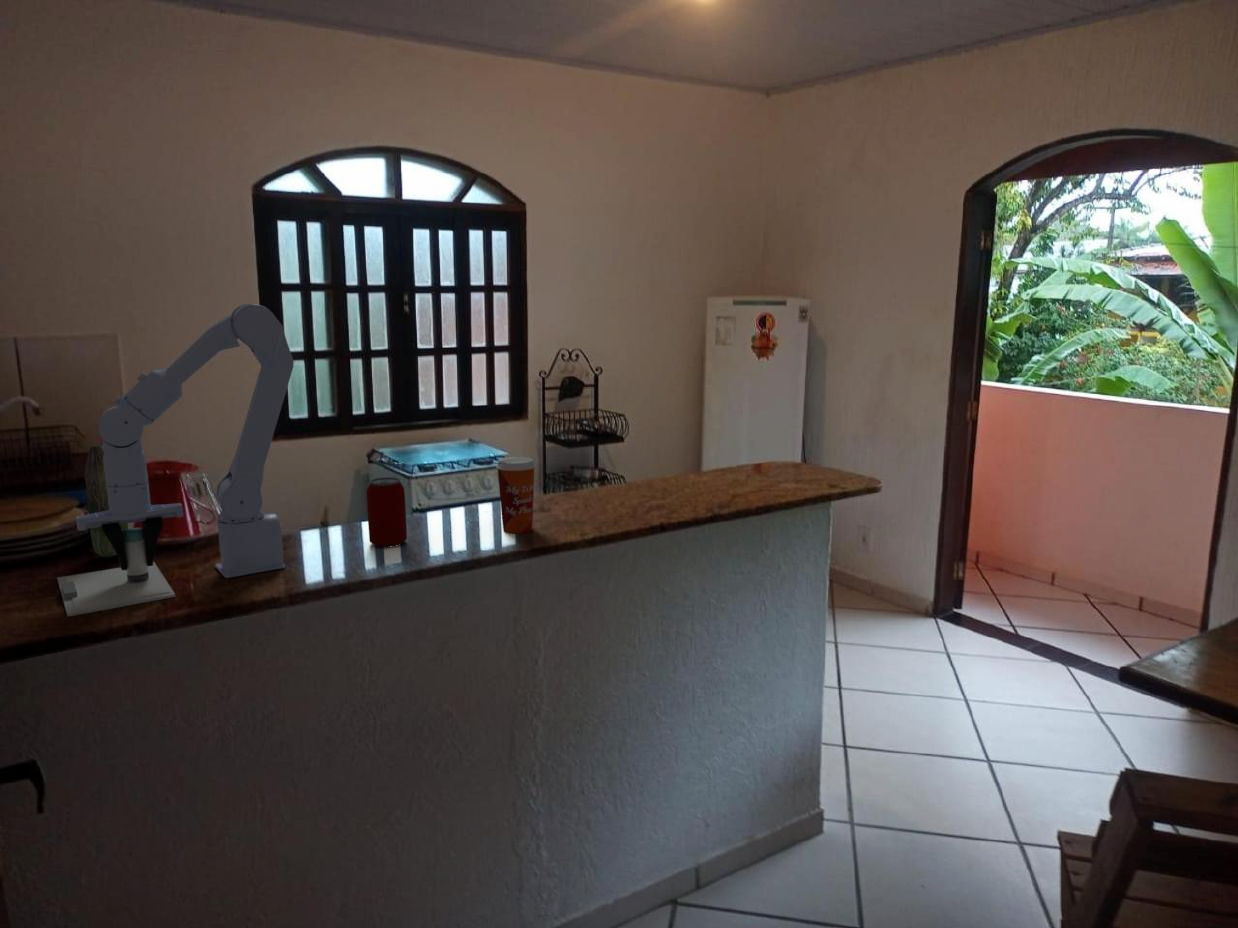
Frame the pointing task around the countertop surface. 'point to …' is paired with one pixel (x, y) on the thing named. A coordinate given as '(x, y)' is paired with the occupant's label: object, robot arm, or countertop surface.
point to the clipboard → (110, 590)
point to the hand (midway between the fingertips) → (136, 566)
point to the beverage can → (386, 512)
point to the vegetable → (98, 499)
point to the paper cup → (516, 493)
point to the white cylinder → (135, 554)
